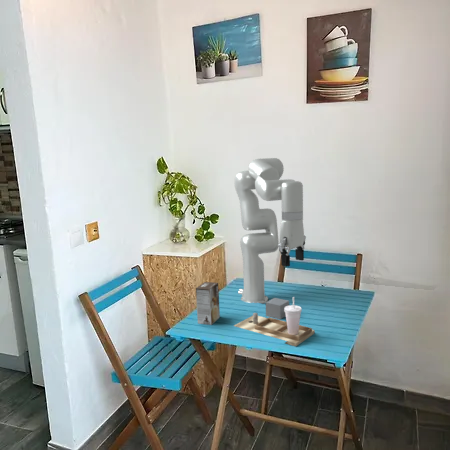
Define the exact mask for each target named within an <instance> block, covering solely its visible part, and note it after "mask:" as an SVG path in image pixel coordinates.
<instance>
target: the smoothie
mask: <svg viewBox="0 0 450 450" xmlns="http://www.w3.org/2000/svg"><path fill="white" fill-rule="evenodd" d="M284 311H285V314H286V316H285V320H286V321H285V322H287V328H288V333H289V334H291V335H296V334H298V331H299V325H300V321H301V313H302V307H301V306H300V305H295V296H293V297H292V304H291V305H290V304H289V306H286V307H285V308H284Z"/></svg>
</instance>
